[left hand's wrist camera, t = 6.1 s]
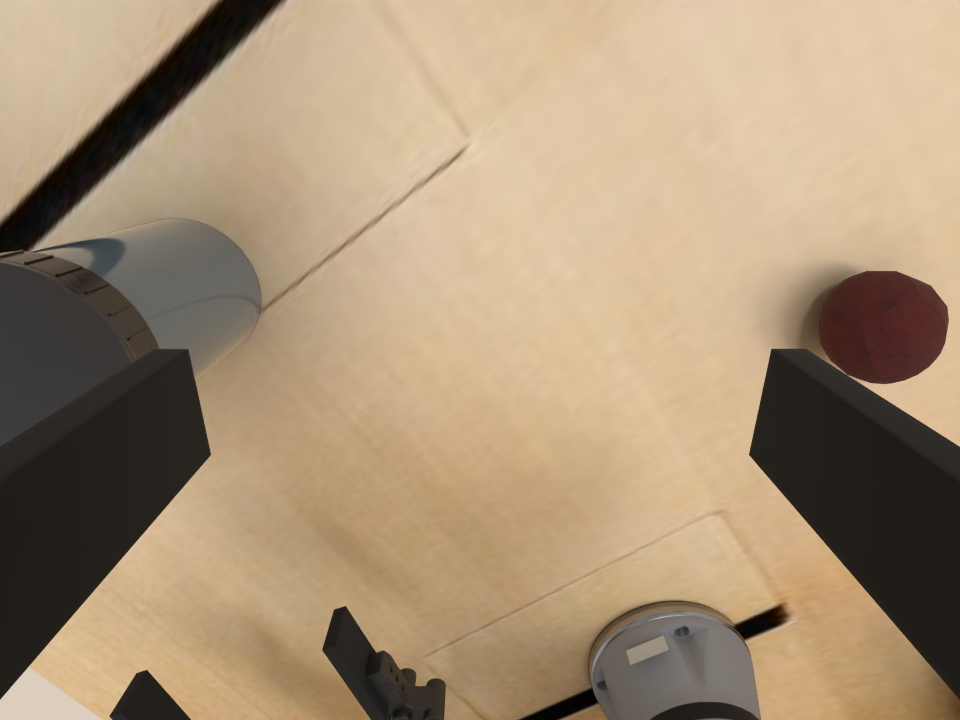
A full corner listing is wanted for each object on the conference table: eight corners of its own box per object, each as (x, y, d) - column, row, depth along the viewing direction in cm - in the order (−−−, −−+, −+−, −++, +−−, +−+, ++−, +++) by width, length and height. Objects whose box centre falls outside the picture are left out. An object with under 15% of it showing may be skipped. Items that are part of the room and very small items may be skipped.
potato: (820, 375, 42) (882, 418, 36) (781, 295, 40) (840, 325, 33) (913, 325, 41) (996, 360, 34) (879, 239, 38) (961, 259, 32)
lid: (11, 470, 30) (-25, 495, 28) (-110, 275, 26) (-162, 286, 24) (200, 435, 29) (178, 458, 27) (106, 227, 25) (72, 235, 23)
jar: (154, 366, 42) (-15, 483, 28) (93, 234, 39) (-139, 290, 24) (280, 341, 42) (174, 448, 27) (231, 204, 38) (76, 243, 23)
